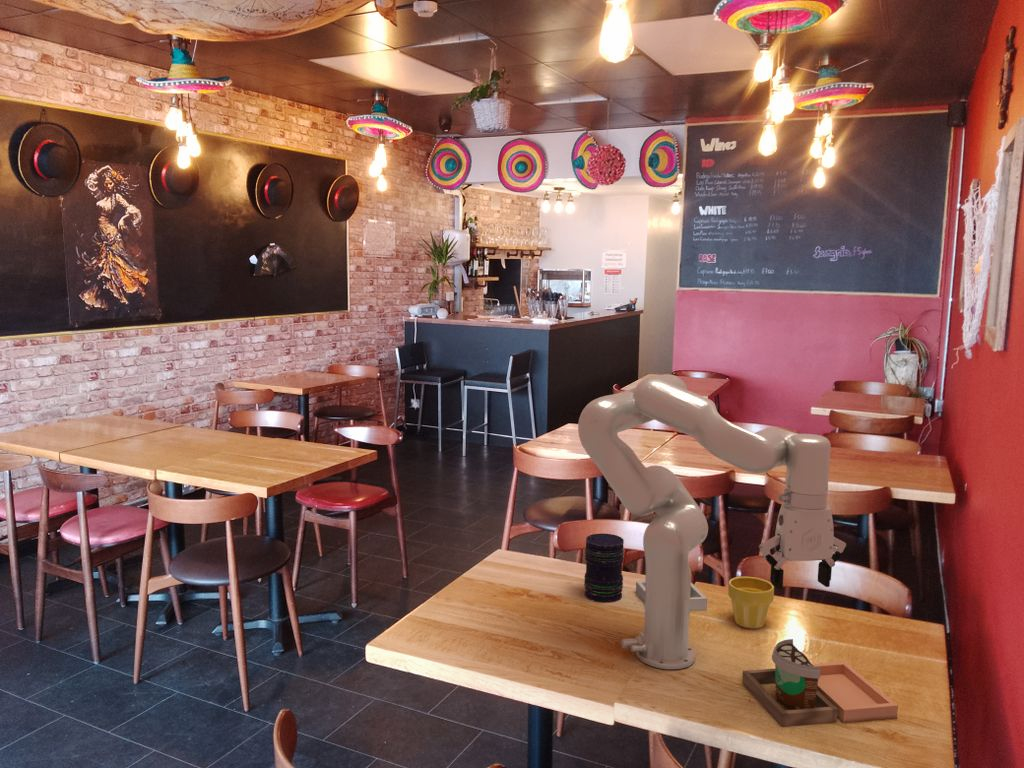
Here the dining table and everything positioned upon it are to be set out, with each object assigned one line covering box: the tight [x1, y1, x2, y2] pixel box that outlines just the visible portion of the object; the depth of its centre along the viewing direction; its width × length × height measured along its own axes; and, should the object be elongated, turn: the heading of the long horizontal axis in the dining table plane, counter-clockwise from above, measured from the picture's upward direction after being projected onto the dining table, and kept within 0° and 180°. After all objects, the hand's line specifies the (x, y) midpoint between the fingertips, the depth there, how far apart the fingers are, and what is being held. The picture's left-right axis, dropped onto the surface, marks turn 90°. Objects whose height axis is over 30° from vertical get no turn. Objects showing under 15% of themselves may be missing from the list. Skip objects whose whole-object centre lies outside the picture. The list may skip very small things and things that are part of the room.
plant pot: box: [727, 576, 775, 630], centre depth 185 cm, size 10×10×10 cm
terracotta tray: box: [811, 661, 899, 724], centre depth 153 cm, size 11×17×2 cm, turn 10°
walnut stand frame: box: [741, 667, 838, 728], centre depth 151 cm, size 11×16×2 cm
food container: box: [771, 638, 820, 710], centre depth 150 cm, size 12×6×10 cm, turn 5°
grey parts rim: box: [635, 580, 708, 612], centre depth 198 cm, size 14×13×3 cm
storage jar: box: [583, 533, 625, 604], centre depth 200 cm, size 10×10×15 cm
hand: (800, 585), depth 150 cm, fingers open, 9 cm apart
